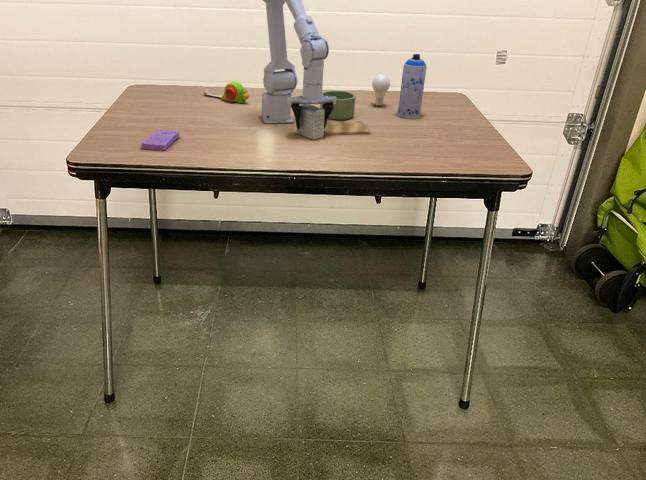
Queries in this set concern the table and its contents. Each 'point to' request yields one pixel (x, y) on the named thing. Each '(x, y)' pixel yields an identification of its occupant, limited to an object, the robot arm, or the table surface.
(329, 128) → the board
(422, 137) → the table surface
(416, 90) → the aerosol can
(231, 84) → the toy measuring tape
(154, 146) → the sponge
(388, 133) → the table surface
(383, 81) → the lightbulb
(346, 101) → the pot
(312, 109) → the medicine box
